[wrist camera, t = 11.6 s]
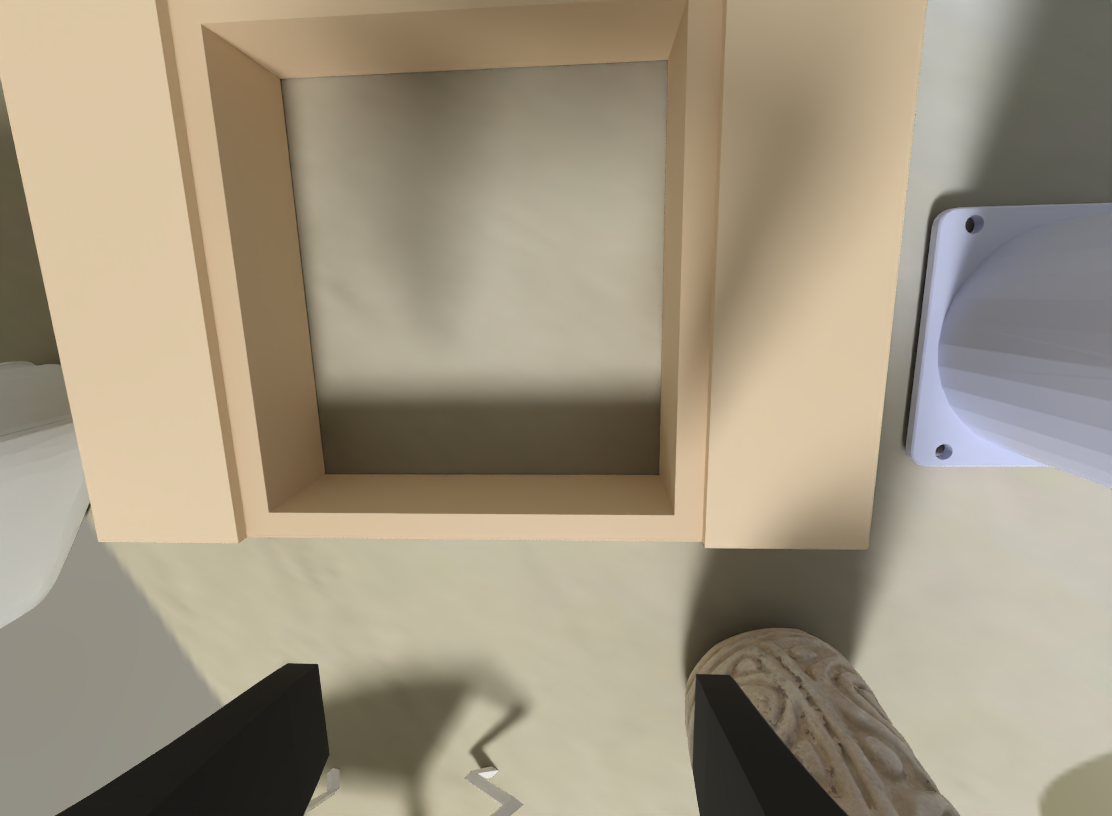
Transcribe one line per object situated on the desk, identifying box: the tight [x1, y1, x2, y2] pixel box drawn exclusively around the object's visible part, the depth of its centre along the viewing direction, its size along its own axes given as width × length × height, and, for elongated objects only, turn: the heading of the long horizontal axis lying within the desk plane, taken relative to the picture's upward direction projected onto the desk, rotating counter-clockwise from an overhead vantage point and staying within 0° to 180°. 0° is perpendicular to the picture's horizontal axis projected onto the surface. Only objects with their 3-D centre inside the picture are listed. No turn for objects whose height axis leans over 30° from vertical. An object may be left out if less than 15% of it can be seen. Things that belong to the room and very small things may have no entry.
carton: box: [0, 0, 928, 550], centre depth 16 cm, size 22×15×4 cm, turn 91°
